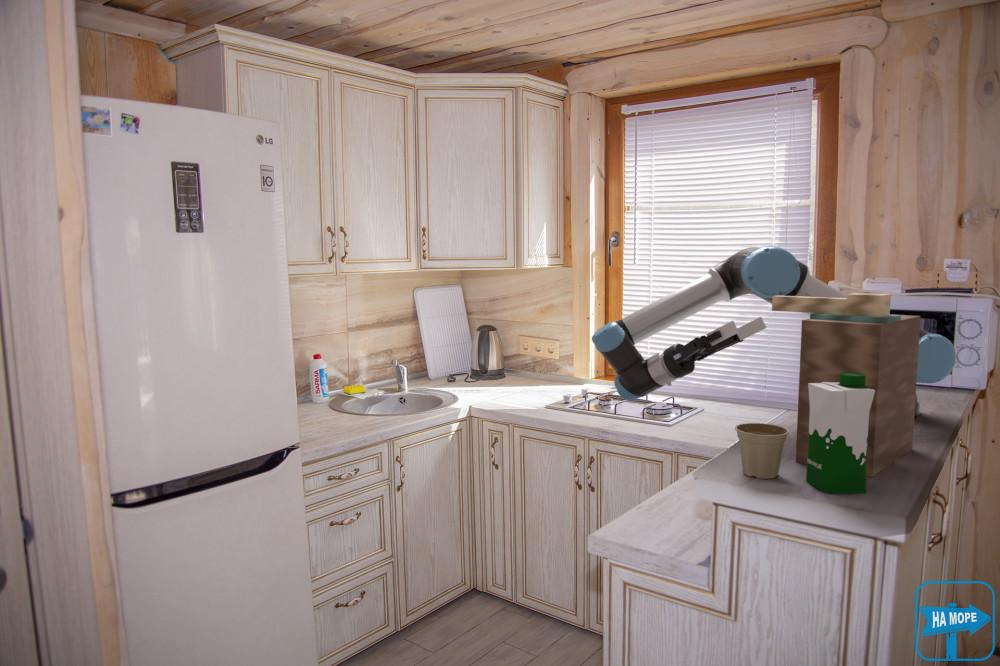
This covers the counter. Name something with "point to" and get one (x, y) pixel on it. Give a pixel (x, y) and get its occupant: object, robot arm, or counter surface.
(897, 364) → the walnut shelf
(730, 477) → the counter surface
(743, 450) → the flower pot
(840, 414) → the milk carton
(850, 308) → the oak bar
